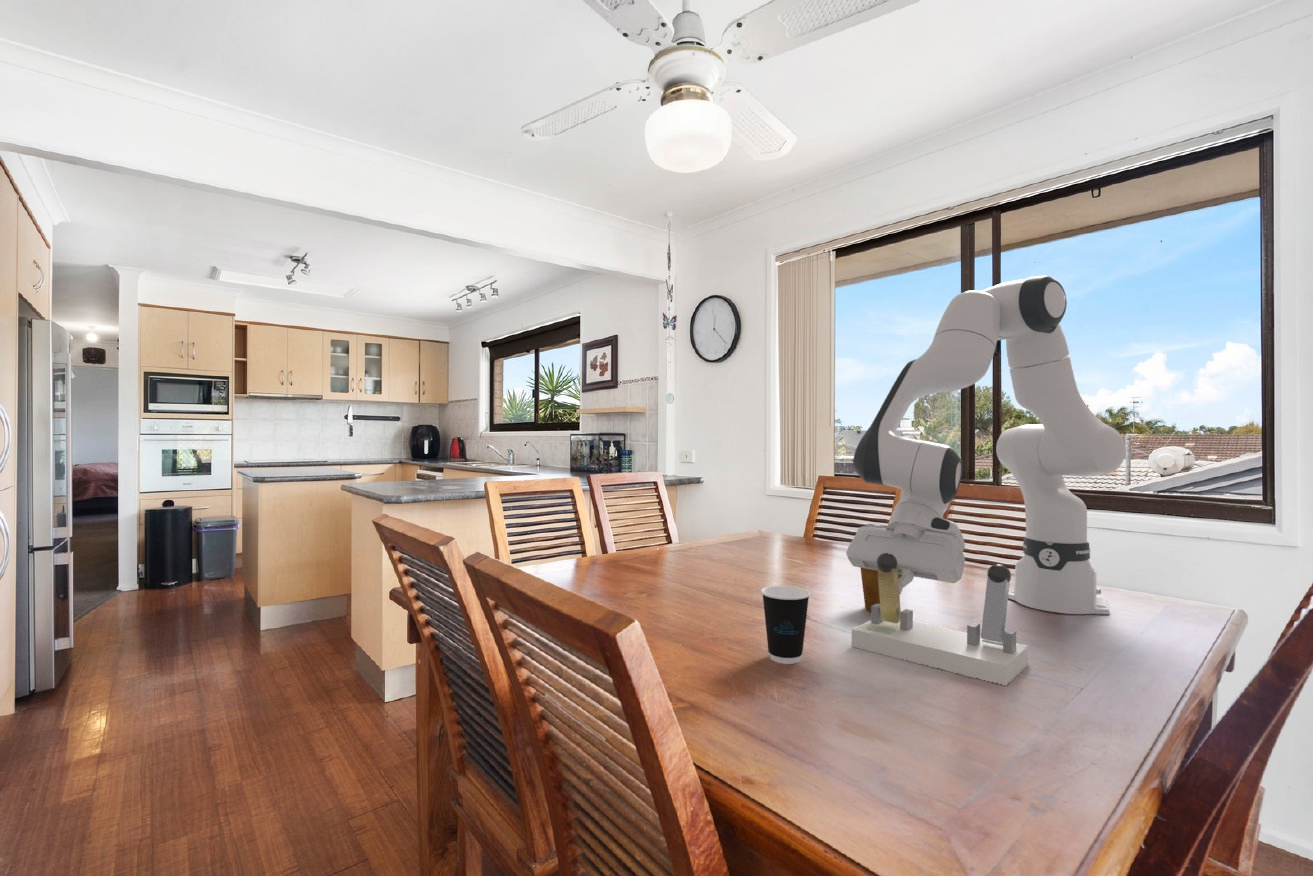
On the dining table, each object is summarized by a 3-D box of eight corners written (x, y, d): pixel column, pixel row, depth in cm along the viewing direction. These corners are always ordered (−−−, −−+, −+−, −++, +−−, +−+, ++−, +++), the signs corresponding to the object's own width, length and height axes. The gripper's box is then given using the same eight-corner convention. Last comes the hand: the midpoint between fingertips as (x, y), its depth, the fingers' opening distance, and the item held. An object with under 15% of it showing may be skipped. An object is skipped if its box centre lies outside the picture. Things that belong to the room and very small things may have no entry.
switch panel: (881, 631, 115) (882, 598, 115) (1028, 664, 99) (1028, 626, 99) (851, 646, 107) (851, 611, 107) (1006, 686, 90) (1006, 644, 90)
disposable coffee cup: (913, 617, 124) (913, 557, 124) (865, 617, 124) (865, 557, 124) (895, 604, 133) (895, 548, 133) (851, 604, 134) (851, 548, 134)
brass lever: (886, 614, 111) (880, 549, 110) (904, 618, 109) (899, 551, 107) (877, 621, 109) (872, 555, 107) (896, 625, 106) (891, 557, 105)
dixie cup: (779, 670, 96) (780, 599, 96) (751, 654, 103) (751, 588, 103) (820, 663, 99) (821, 594, 99) (790, 647, 106) (790, 583, 106)
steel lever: (983, 639, 100) (991, 565, 103) (1006, 644, 98) (1014, 568, 101) (977, 637, 98) (985, 560, 101) (1000, 642, 96) (1009, 563, 99)
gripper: (855, 513, 122) (830, 571, 115) (966, 524, 107) (945, 592, 101) (866, 532, 125) (842, 590, 118) (974, 546, 111) (954, 613, 104)
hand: (890, 591), depth 109 cm, fingers closed, pressing on brass lever
